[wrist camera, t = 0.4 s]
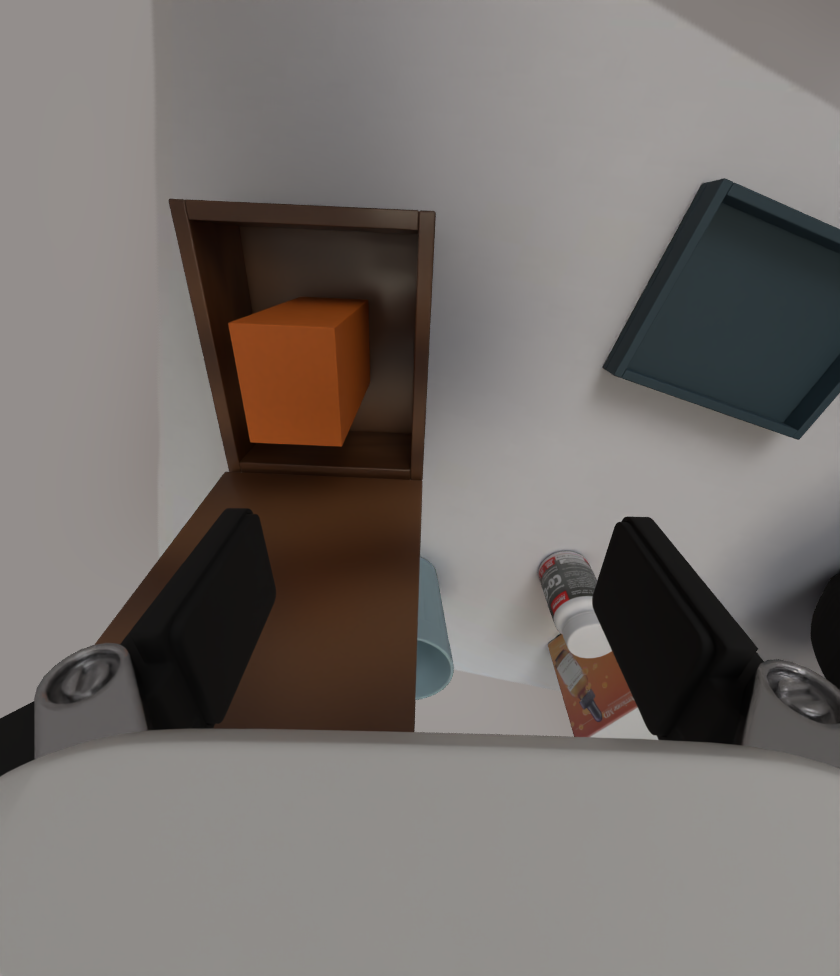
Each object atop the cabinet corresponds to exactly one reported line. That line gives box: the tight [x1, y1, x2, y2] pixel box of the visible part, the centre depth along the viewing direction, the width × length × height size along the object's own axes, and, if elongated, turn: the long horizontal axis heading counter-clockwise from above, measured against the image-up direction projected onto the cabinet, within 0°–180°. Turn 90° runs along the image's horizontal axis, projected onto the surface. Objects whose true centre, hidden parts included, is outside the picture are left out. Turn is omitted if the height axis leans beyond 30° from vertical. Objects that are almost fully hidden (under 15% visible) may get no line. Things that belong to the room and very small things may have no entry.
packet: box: [228, 297, 370, 447], centre depth 23 cm, size 6×4×11 cm
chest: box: [169, 199, 436, 481], centre depth 26 cm, size 15×13×7 cm
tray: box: [603, 179, 840, 440], centre depth 27 cm, size 15×11×2 cm
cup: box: [415, 557, 454, 700], centre depth 35 cm, size 8×8×10 cm
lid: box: [95, 472, 422, 732], centre depth 21 cm, size 15×13×5 cm
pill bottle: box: [538, 551, 612, 658], centre depth 35 cm, size 5×5×8 cm
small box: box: [548, 634, 658, 740], centre depth 39 cm, size 8×6×10 cm
